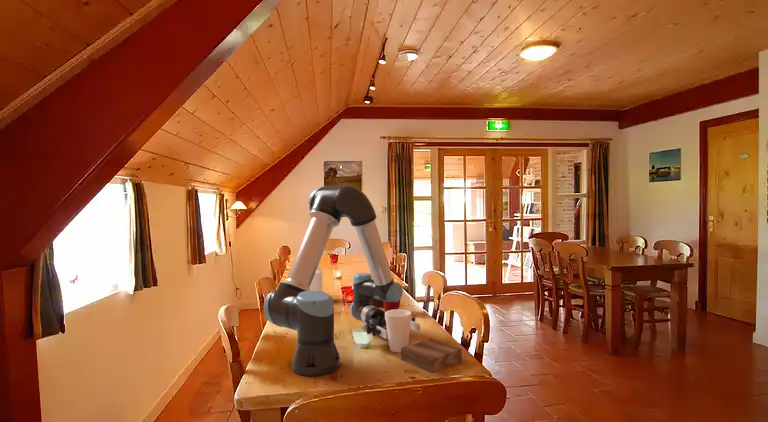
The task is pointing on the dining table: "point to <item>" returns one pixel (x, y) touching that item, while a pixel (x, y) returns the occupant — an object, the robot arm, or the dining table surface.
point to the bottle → (317, 281)
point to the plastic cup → (391, 305)
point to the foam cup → (398, 328)
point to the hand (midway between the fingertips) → (403, 331)
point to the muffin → (377, 303)
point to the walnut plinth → (431, 355)
